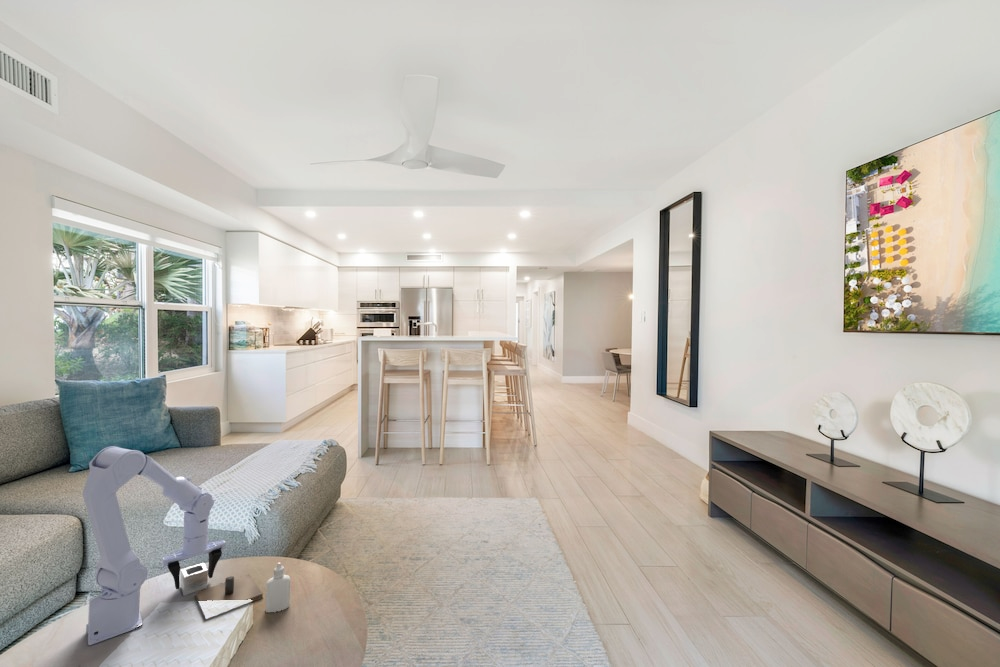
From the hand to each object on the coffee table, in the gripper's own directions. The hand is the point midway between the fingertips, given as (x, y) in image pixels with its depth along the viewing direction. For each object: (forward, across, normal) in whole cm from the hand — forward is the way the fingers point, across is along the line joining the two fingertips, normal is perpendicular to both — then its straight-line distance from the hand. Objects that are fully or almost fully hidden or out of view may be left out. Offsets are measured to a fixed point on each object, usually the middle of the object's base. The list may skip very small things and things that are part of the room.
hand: (194, 581), depth 117 cm
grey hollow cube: (+2, 0, 0) cm, 2 cm away
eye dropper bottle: (+2, -14, +26) cm, 30 cm away
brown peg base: (+2, -6, +12) cm, 14 cm away
